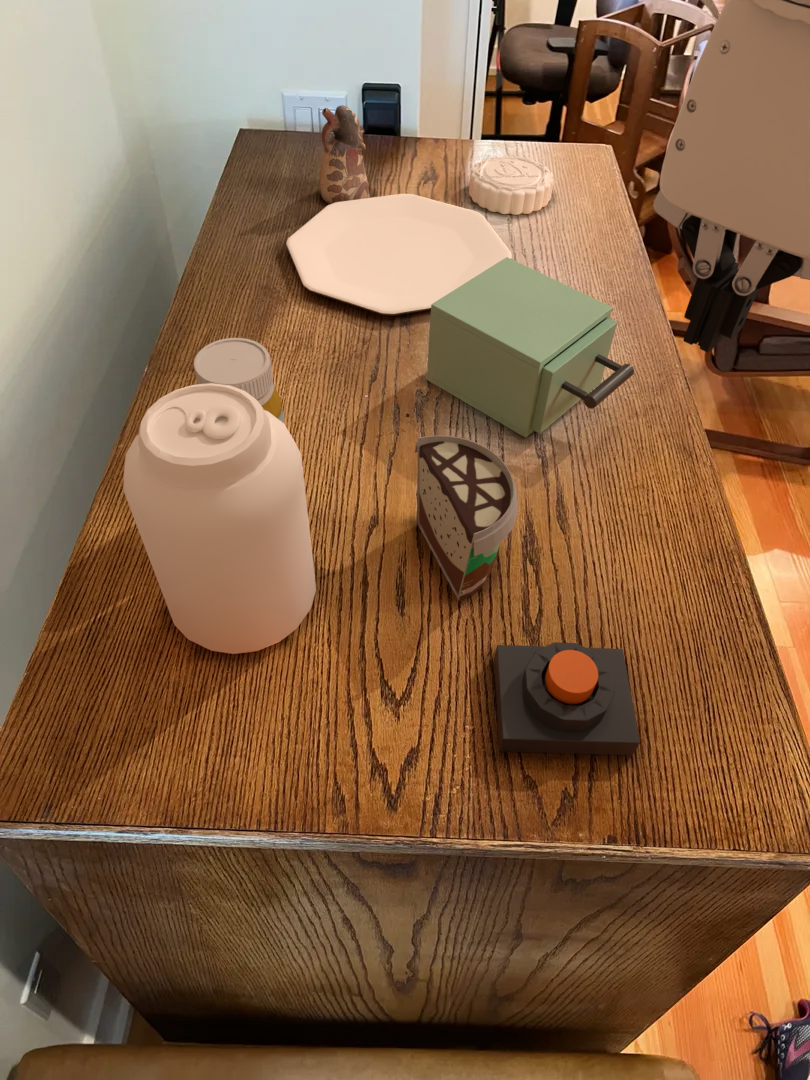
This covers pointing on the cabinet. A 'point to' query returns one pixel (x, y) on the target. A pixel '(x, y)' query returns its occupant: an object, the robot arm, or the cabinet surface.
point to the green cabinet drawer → (578, 376)
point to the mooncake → (510, 185)
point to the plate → (393, 252)
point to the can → (223, 517)
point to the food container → (463, 507)
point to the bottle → (240, 370)
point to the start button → (571, 677)
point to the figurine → (342, 158)
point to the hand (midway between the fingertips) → (707, 336)
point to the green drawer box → (505, 338)
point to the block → (562, 704)
